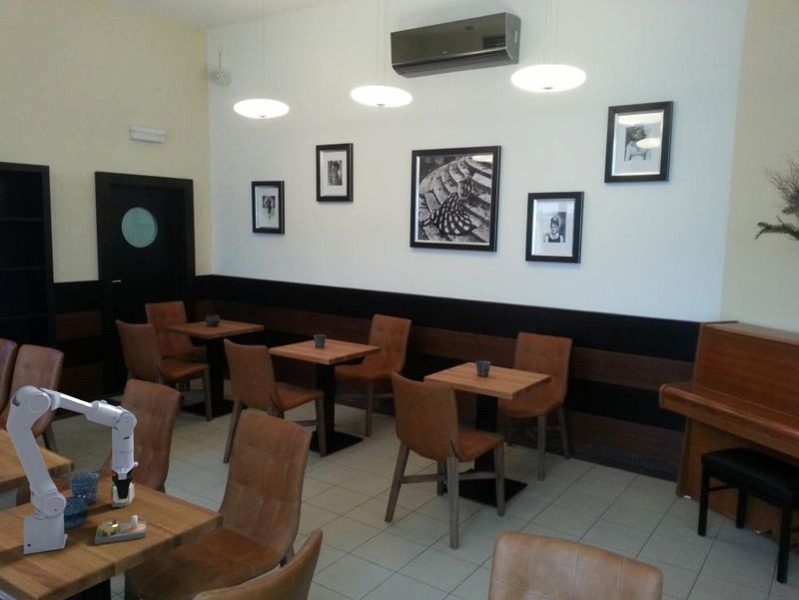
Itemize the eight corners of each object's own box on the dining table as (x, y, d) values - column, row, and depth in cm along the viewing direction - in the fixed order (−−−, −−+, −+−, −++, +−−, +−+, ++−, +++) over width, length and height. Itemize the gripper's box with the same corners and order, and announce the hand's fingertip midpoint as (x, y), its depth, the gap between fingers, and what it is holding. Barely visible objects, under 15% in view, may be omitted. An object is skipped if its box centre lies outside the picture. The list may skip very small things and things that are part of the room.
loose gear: (112, 504, 175) (112, 490, 175) (113, 496, 180) (113, 483, 180) (133, 501, 177) (133, 488, 177) (134, 494, 182) (134, 481, 182)
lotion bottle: (112, 501, 193) (112, 440, 192) (132, 499, 195) (131, 439, 193) (110, 508, 188) (109, 446, 186) (129, 507, 190) (129, 445, 188)
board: (94, 544, 165) (94, 527, 165) (97, 531, 173) (97, 515, 172) (146, 537, 170) (145, 520, 170) (146, 525, 178) (146, 508, 177)
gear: (97, 537, 166) (97, 526, 166) (99, 528, 171) (99, 517, 171) (120, 534, 168) (120, 523, 168) (121, 525, 174) (121, 514, 173)
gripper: (137, 456, 172) (137, 502, 173) (138, 441, 186) (138, 483, 187) (110, 459, 170) (110, 505, 171) (112, 443, 183) (113, 486, 184)
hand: (123, 494), depth 178 cm, fingers closed on loose gear, 6 cm apart
